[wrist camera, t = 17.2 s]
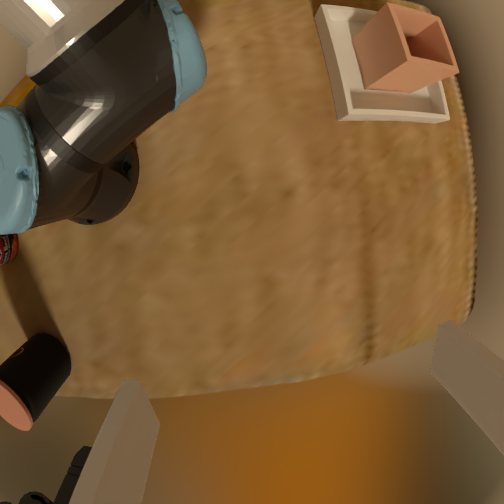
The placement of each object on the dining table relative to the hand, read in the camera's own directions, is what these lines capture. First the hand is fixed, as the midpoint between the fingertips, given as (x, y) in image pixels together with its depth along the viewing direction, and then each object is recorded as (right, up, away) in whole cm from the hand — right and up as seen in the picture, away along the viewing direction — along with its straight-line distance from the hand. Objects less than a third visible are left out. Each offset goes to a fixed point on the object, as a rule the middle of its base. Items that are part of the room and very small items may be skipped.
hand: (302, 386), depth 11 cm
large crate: (+19, +35, +25) cm, 47 cm away
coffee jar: (-42, -15, +34) cm, 56 cm away
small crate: (+19, +35, +24) cm, 46 cm away
